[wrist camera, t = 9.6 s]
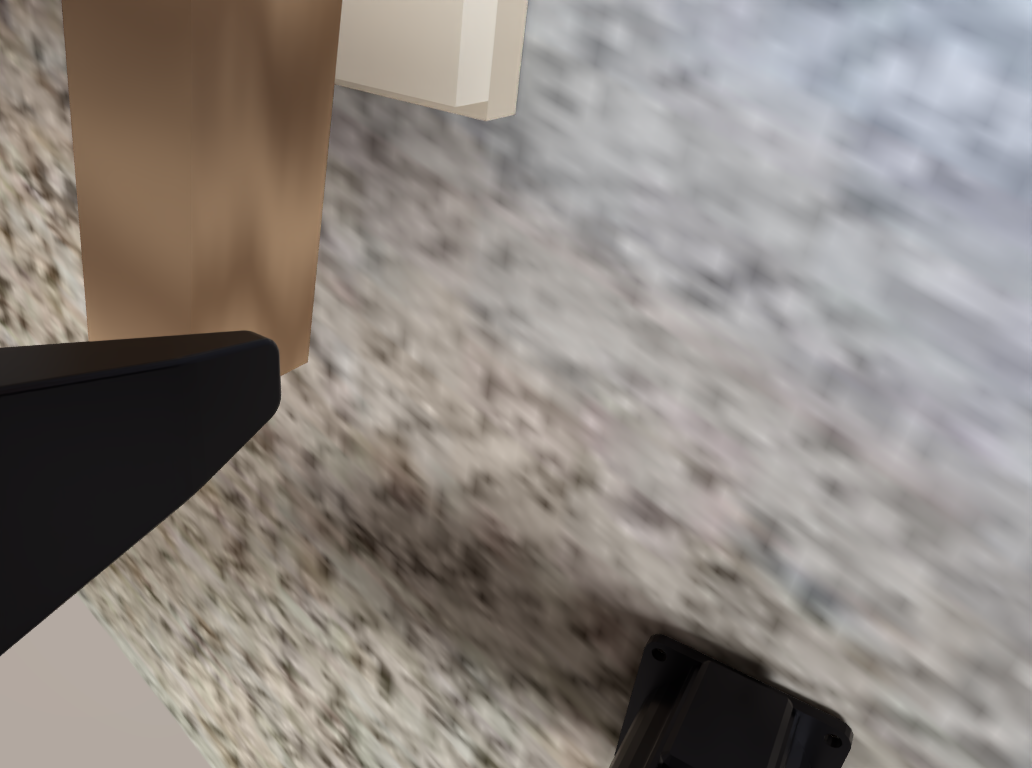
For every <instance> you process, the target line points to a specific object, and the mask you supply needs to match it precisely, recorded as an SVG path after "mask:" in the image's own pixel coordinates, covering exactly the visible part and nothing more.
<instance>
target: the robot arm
mask: <svg viewBox="0 0 1032 768" xmlns="http://www.w3.org/2000/svg"><path fill="white" fill-rule="evenodd" d="M280 400H281V378H280V353H279V349H278V347H277V344H276V343H275V342H274V341H273V340H271V339H269V338H267V337H264V336H262V335H260V334H257V333H255V332H252V331H248V330H241V331H227V332H213V333H199V334H185V335H171V336H157V337H143V338H129V339H116V340H102V341H88V342H74V343H60V344H46V345H32V346H18V347H4V348H0V656H1V655H2V654H3V653H5V652H6V651H7V650H8V649H9V648H11V647H12V646H13V645H14V644H15V643H17V642H18V641H19V640H20V639H21V638H23V637H24V636H25V635H26V634H27V633H29V632H30V631H31V630H32V629H33V628H35V627H36V626H37V625H38V624H39V623H41V622H42V621H43V620H44V619H46V618H47V617H48V616H49V615H50V614H52V613H53V612H54V611H55V610H56V609H57V608H59V607H60V606H61V605H62V604H64V603H65V602H66V601H67V600H68V599H70V598H71V597H72V596H73V595H74V594H76V593H77V592H78V591H79V590H80V589H82V588H83V587H84V586H85V585H87V584H88V583H89V582H90V581H91V580H93V579H94V578H95V577H96V576H97V575H99V574H100V573H101V572H102V571H103V570H105V569H106V568H107V567H108V566H109V565H111V564H112V563H113V562H114V561H115V560H117V559H118V558H119V557H120V556H121V555H123V554H124V553H125V552H126V551H127V550H129V549H130V548H131V547H132V546H134V545H135V544H136V543H137V542H138V541H140V540H141V539H142V538H143V537H144V536H146V535H147V534H148V533H149V532H150V531H152V530H153V529H154V528H155V527H156V526H158V525H159V524H160V523H161V522H162V521H164V520H165V519H166V518H167V517H168V516H170V515H171V514H172V513H173V512H174V511H176V510H177V509H178V508H179V507H180V506H182V505H183V504H184V503H185V502H186V501H187V500H189V499H190V498H191V497H192V496H193V495H194V494H195V493H196V492H197V491H198V490H199V489H201V488H202V487H203V486H204V485H205V484H206V483H207V482H208V481H209V480H210V479H211V478H212V477H213V476H214V475H215V474H216V473H217V472H218V471H219V470H220V469H221V468H222V467H223V466H224V465H225V464H226V463H227V462H228V461H229V460H230V459H231V458H232V457H233V456H234V455H235V454H236V453H237V452H238V451H239V450H240V449H241V448H242V447H243V446H244V445H245V444H246V443H247V442H248V441H249V440H250V439H251V438H252V437H253V436H254V435H255V434H256V433H257V432H258V431H259V430H260V429H261V428H262V427H263V426H264V425H265V424H266V423H267V422H268V421H269V420H270V419H271V418H272V417H273V415H274V414H275V413H276V411H277V409H278V407H279V405H280ZM657 648H658V649H661V650H663V651H664V652H665V653H662V652H660V651H659V650H658V649H657ZM830 734H834V735H836V736H838V737H839V738H836V737H832V736H831V735H830ZM852 740H853V732H852V730H851V728H850V727H849V726H848V725H847V724H846V723H844V722H843V721H841V720H840V719H837V718H835V717H833V716H831V715H829V714H827V713H825V712H823V711H821V710H819V709H817V708H815V707H813V706H811V705H808V704H806V703H804V702H802V701H800V700H798V699H796V698H794V697H792V696H790V695H788V694H786V693H784V692H782V691H779V690H777V689H775V688H773V687H771V686H769V685H767V684H765V683H763V682H761V681H759V680H757V679H755V678H753V677H750V676H748V675H746V674H744V673H742V672H740V671H738V670H736V669H734V668H732V667H730V666H728V665H726V664H724V663H721V662H719V661H717V660H715V659H713V658H711V657H709V656H707V655H705V654H703V653H701V652H699V651H697V650H695V649H693V648H690V647H688V646H686V645H684V644H682V643H680V642H678V641H676V640H674V639H672V638H670V637H668V636H665V635H662V634H655V635H653V636H651V638H650V639H649V641H648V643H647V645H646V646H645V649H644V652H643V656H642V659H641V663H640V666H639V670H638V674H637V677H636V681H635V684H634V688H633V691H632V695H631V698H630V702H629V706H628V709H627V713H626V716H625V720H624V723H623V727H622V730H621V734H620V738H619V741H618V745H617V748H616V752H615V757H614V759H613V761H612V763H611V765H610V767H609V768H841V767H842V765H843V763H844V761H845V759H846V757H847V755H848V753H849V751H850V749H851V744H852Z"/></svg>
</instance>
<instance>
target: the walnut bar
mask: <svg viewBox="0 0 1032 768" xmlns="http://www.w3.org/2000/svg"><path fill="white" fill-rule="evenodd" d="M341 10H342V0H62V12H63V25H64V37H65V50H66V62H67V75H68V87H69V100H70V112H71V125H72V137H73V150H74V162H75V175H76V187H77V200H78V212H79V225H80V237H81V250H82V262H83V275H84V287H85V300H86V312H87V325H88V337H89V341H102V340H116V339H129V338H143V337H157V336H171V335H185V334H199V333H213V332H227V331H241V330H248V331H252V332H255V333H257V334H260V335H262V336H264V337H267V338H269V339H271V340H273V341H274V342H275V343H276V344H277V347H278V349H279V353H280V376H282V375H284V374H286V373H288V372H289V371H291V370H293V369H295V368H297V367H299V366H301V365H303V364H305V363H307V362H308V354H309V343H310V333H311V323H312V312H313V302H314V291H315V281H316V271H317V260H318V250H319V239H320V229H321V218H322V208H323V198H324V187H325V177H326V166H327V156H328V146H329V135H330V125H331V114H332V104H333V94H334V83H335V73H336V62H337V52H338V42H339V31H340V21H341Z"/></svg>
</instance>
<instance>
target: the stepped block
mask: <svg viewBox="0 0 1032 768" xmlns="http://www.w3.org/2000/svg"><path fill="white" fill-rule="evenodd" d="M527 5H528V0H342V10H341V21H340V31H339V42H338V52H337V62H336V73H335V83H334V84H335V85H339V86H343V87H347V88H352V89H356V90H360V91H364V92H368V93H372V94H376V95H380V96H384V97H389V98H393V99H397V100H401V101H405V102H409V103H413V104H417V105H422V106H426V107H430V108H434V109H438V110H442V111H446V112H450V113H455V114H459V115H463V116H467V117H471V118H475V119H479V120H483V121H489V120H494V119H498V118H502V117H507V116H511V115H515V111H516V102H517V94H518V85H519V76H520V67H521V58H522V49H523V40H524V32H525V23H526V14H527Z"/></svg>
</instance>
